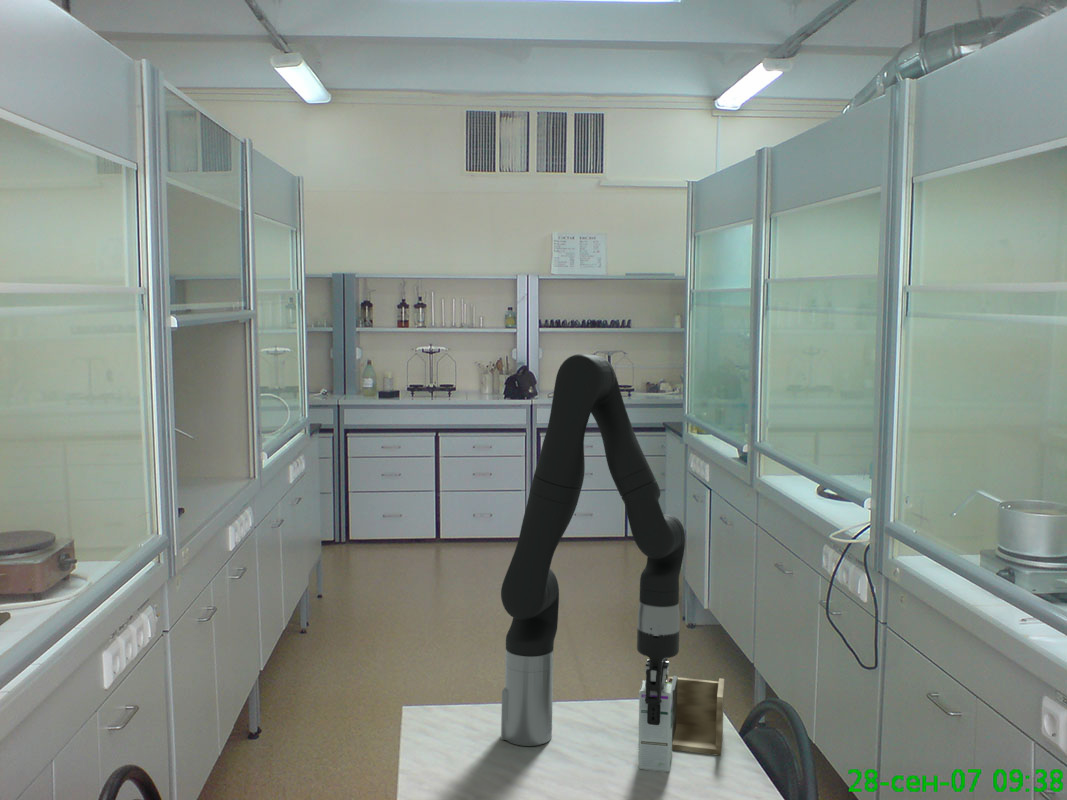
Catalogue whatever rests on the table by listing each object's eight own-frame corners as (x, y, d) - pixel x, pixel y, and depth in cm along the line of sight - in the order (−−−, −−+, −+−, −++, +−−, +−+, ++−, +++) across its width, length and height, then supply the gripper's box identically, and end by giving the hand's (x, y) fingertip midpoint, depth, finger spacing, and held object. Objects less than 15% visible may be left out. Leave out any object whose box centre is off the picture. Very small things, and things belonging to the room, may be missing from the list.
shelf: (642, 746, 172) (644, 682, 172) (649, 723, 183) (651, 663, 182) (720, 755, 169) (722, 690, 168) (722, 731, 179) (724, 670, 179)
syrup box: (670, 773, 161) (672, 692, 161) (637, 769, 162) (639, 689, 162) (672, 759, 167) (674, 681, 166) (639, 755, 168) (641, 678, 167)
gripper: (642, 613, 171) (640, 698, 172) (632, 636, 157) (630, 728, 158) (682, 617, 169) (680, 702, 170) (676, 640, 156) (673, 733, 156)
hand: (656, 714), depth 164 cm, fingers open, 8 cm apart
